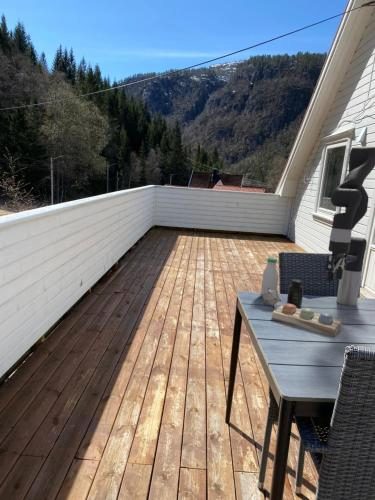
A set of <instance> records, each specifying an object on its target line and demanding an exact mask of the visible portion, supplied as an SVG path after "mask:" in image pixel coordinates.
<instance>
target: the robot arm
mask: <svg viewBox="0 0 375 500" xmlns="http://www.w3.org/2000/svg"><path fill="white" fill-rule="evenodd" d="M348 156H349V157H348V173H347V174H346V176H345V178H344V180H343V182H342V183H340V185H338V186H337V187H336V188H334V190H333V191H332V193H331V195H330V203H331V205H333V206H334V207H336V208H345V210H344V212H338V213H335V214H334V215H333V218H332V225H331V226H332V227H331V231H330V236H329V243H328V250H327V251H329V252H331V255H327V258H326V264H325V271H326V272H327V277H326V281H327V282H330V283H332V282H334V278H336V279H337V280H338V281H339V282H338V289H337V294H336V302H337V303H338V304H341V305H344V306H350V307H355V306H357V305H358V298H359V291H360V287H361V286H360V285H361V279H362V272H363V266H364V259H365V254H366V250H367V243H368V242H367V239H366V238H364V237H357V236H352V231H353V229H354V228H355V227H356V225H357V224H358V223H359V222H360V221H361V220H362V219H363V218H364V216H365V215H366V214H367V212H368V207H369V195H368V192H367V191H366V189H365V187H364V186H363V184H364V182H365V181H366V178H367V177H368V176H369V175H370V173H371V172H372V171H373V169H374V168H375V146H353V147H352V148H351V149H350V152H349V155H348ZM348 256H351V257H356V258H355V259H353V260H349V261H348ZM335 271H336V276H335Z"/></svg>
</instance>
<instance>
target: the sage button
mask: <svg viewBox="0 0 375 500" xmlns="http://www.w3.org/2000/svg"><path fill="white" fill-rule="evenodd" d="M314 313H315V311H314V310H313V309H312V308H309V307H308V308H307V307H303V308H301V311H300V316H301V317H305V318H308V319H312V318H313V317H314Z"/></svg>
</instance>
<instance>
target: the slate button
mask: <svg viewBox="0 0 375 500" xmlns="http://www.w3.org/2000/svg"><path fill="white" fill-rule="evenodd" d="M319 314H320V316H319V320H318V321H320V322H323V323H327V324H331V323H332V322H333V318H334V316H333V314H331V313H328V312H320V313H319Z"/></svg>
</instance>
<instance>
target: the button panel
mask: <svg viewBox="0 0 375 500" xmlns="http://www.w3.org/2000/svg"><path fill="white" fill-rule="evenodd" d="M283 306H284V304H282V305H281V306H279V307H277V308H276V309H274V310H273V311H272V313H271V319H272V320H275V321H278V322H283V323H284V324H285V323H286V324H289V325H293V326H296V327H300V328H303V329H307V330H310V331H314V332H318V333H321V334H325V335H328V336H331V337H335V336H336V334H337V333H338V332H339V330H340V329H341V328H342V323H343V320H342V319H341V318H336V317H333V322H332V323H331V324H327V323H323V322H320V321H318V320H319V316H320V313H316V312H314V317H313V318H312V319H308V318H305V317H301V316H300V311H301V310H302V308H298V307H296V312H295V313H294V314H290V313H286V312H282V309H283Z"/></svg>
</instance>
